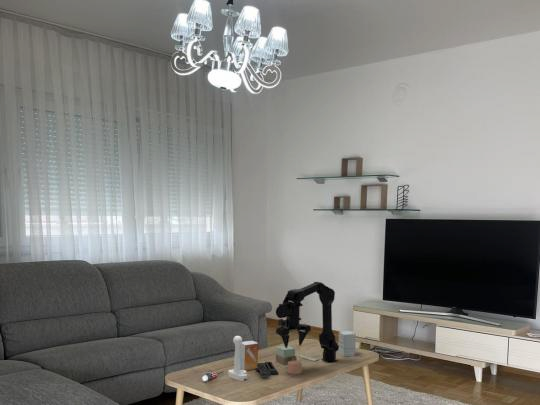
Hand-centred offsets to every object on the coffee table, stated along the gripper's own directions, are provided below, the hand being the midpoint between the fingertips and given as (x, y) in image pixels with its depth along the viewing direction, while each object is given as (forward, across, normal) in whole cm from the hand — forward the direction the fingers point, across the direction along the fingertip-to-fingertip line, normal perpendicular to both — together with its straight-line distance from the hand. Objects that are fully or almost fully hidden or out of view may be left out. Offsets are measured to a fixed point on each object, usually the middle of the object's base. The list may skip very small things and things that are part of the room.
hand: (293, 346), depth 251 cm
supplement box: (+13, -45, -6) cm, 47 cm away
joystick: (+13, +27, -8) cm, 31 cm away
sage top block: (+9, -7, -14) cm, 18 cm away
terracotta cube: (+12, 0, +2) cm, 13 cm away
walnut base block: (+13, -7, -14) cm, 20 cm away
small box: (+13, +16, -16) cm, 26 cm away
